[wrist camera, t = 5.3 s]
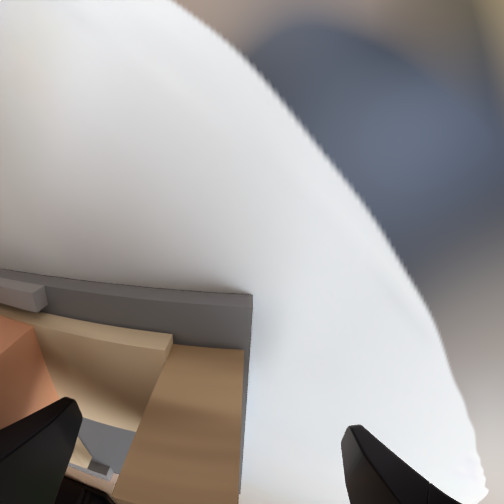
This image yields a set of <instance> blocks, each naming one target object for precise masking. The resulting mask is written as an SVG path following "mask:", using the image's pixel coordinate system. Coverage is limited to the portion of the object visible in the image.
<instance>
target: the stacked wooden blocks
mask: <svg viewBox="0 0 504 504" xmlns="http://www.w3.org/2000/svg"><path fill="white" fill-rule="evenodd" d="M0 316H2V317H5V318H8V319H11V320H14V321H18V322H21V323H24V324H27V325H31V326H34V329H35V333H36V336H37V339H38V343H39V346H40V349H41V352H42V355H43V358H44V361H45V364H46V366H47V369H48V372H49V374H50V377H51V380H52V382H53V385H54V387H55V389H56V392H57V394H58V397H59V399H61V398H63V397H69V398H72V399H75V400H76V402H77V404H78V406H79V408H80V411H81V413H82V416H83V417H84V418H87V419H90V420H93V421H96V422H100V423H103V424H107V425H110V426H114V427H118V428H122V429H126V430H130V431H134V432H136V433H135V436H134V438H133V441H132V443H131V446H130V448H129V451H128V454H127V456H126V459H125V461H124V464H123V466H122V469H121V472H120V474H119V477H118V480H117V482H116V485H115V488H114V490H113V493H112V498H113V499H114V500H115V502H116V503H117V504H238V499H239V472H240V445H241V419H242V393H243V368H244V350H238V349H222V348H209V347H198V346H187V345H178V344H173V334H167V333H159V332H151V331H143V330H136V329H129V328H122V327H116V326H110V325H104V324H98V323H92V322H87V321H82V320H77V319H72V318H67V317H62V316H57V315H53V314H48V313H44V312H40V311H39V312H37V313H36V312H32V311H28V310H24V309H20V308H16V307H13V306H9V305H6V304H2V303H0Z"/></svg>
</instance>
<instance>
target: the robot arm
mask: <svg viewBox="0 0 504 504" xmlns="http://www.w3.org/2000/svg"><path fill="white" fill-rule="evenodd" d="M82 420H83V416H82V413H81V411H80V408H79V406H78V404H77V402H76V400H75V399H72V398H69V397H63V398H61V399H59V400H57V401H55V402H53V403H52V404H50V405H48V406H46V407H44V408H42V409H40V410H38V411H36V412H34V413H32V414H30V415H28V416H26V417H24V418H23V419H21V420H19V421H17V422H15V423H13V424H11V425H9V426H6V427H4V428H2V429H0V504H114V503H113V501H112V500H111V499H110V498H109V496H108V495H106V494H105V493H103V492H100V491H97V490H94V489H92V488H89V487H87V486H84V485H82V484H79V483H77V482H74V481H72V480H70V479H67V478H65V477H64V474H65V472H66V469H67V467H68V464H69V462H70V459H71V457H72V454H73V451H74V448H75V444H76V441H77V437H78V434H79V430H80V427H81V424H82ZM341 450H342V458H343V466H344V475H345V483H346V487H347V492H348V496H349V500H350V504H461V503H459V502H458V501H456V500H454V499H453V498H451V497H449V496H448V495H446V494H445V493H443V492H442V491H441V490H439V489H438V488H437V487H435V486H434V485H433V484H431V483H430V484H429V481H427V480H426V479H425V478H424V477H422V476H421V475H420V474H419V473H417V472H416V471H415V470H414V469H412V468H411V467H410V466H409V465H407V464H406V463H405V462H404V461H403V460H401V459H400V458H399V457H398V456H397V455H395V454H394V453H393V452H392V451H391V450H390V449H388V448H387V447H386V446H385V445H384V444H382V443H381V442H380V441H379V440H378V439H377V438H376V437H374V436H373V435H372V434H371V433H370V432H369V431H368V430H366V429H365V428H364V427H363V426H362V425H351V426H349V427H348V428H347V429H346V432H345V434H344V436H343V439H342V441H341Z"/></svg>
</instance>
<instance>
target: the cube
mask: <svg viewBox="0 0 504 504" xmlns="http://www.w3.org/2000/svg"><path fill="white" fill-rule="evenodd" d="M57 400H59V397H58V394H57V392H56V389H55V387H54V385H53V382H52V380H51V377H50V374H49V372H48V369H47V366H46V364H45V361H44V358H43V355H42V352H41V349H40V346H39V343H38V339H37V336H36V333H35V329H34V326H31V325H27V324H24V323H21V322H18V321H14V320H11V319H8V318H5V317H2V316H0V429H2V428H4V427H6V426H9V425H11V424H13V423H15V422H17V421H19V420H21V419H23V418H24V417H26V416H28V415H30V414H32V413H34V412H36V411H38V410H40V409H42V408H44V407H46V406H48V405H50V404H52V403H53V402H55V401H57Z"/></svg>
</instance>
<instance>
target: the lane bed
mask: <svg viewBox="0 0 504 504" xmlns="http://www.w3.org/2000/svg"><path fill="white" fill-rule="evenodd" d="M0 303H2V304H6V305H9V306H13V307H16V308H20V309H24V310H28V311H32V312H36V313H37V312H39V311H40V312H44V313H48V314H53V315H57V316H62V317H67V318H72V319H77V320H82V321H87V322H92V323H98V324H104V325H110V326H116V327H122V328H129V329H136V330H143V331H151V332H159V333H167V334H173V344H178V345H187V346H198V347H209V348H222V349H238V350H244V368H243V393H242V419H241V445H240V472H239V494H240V489H241V475H242V461H243V446H244V432H245V417H246V402H247V387H248V372H249V357H250V341H251V326H252V310H253V295H245V294H227V293H211V292H197V291H184V290H171V289H159V288H148V287H138V286H128V285H118V284H109V283H100V282H91V281H83V280H75V279H67V278H59V277H52V276H45V275H38V274H31V273H24V272H18V271H12V270H6V269H0ZM135 433H136V432H134V431H130V430H126V429H122V428H118V427H114V426H110V425H107V424H103V423H100V422H96V421H93V420H90V419H87V418H84V417H83V420H82V424H81V427H80V430H79V434H78V437H79V439H80V440H81V442H82V443H83V445H84V446H85V448H86V449H87V451H88V452H89V454H90V455H91V456H92V459H91V461H90V463H89V466H88V468H87V469H86V468H83V467H81V466H78V465H75V464H72V463H70V462H69V464H68V466H70V467H72V468H75V469H77V470H80V471H82V472H85V473H87V474H90V475H93V476H96V477H98V478H101V479H104V480H107V481H111V478H112V476H113V473H116V474H120V472H121V469H122V466H123V464H124V461H125V459H126V456H127V454H128V451H129V448H130V446H131V443H132V441H133V438H134V436H135Z"/></svg>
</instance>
